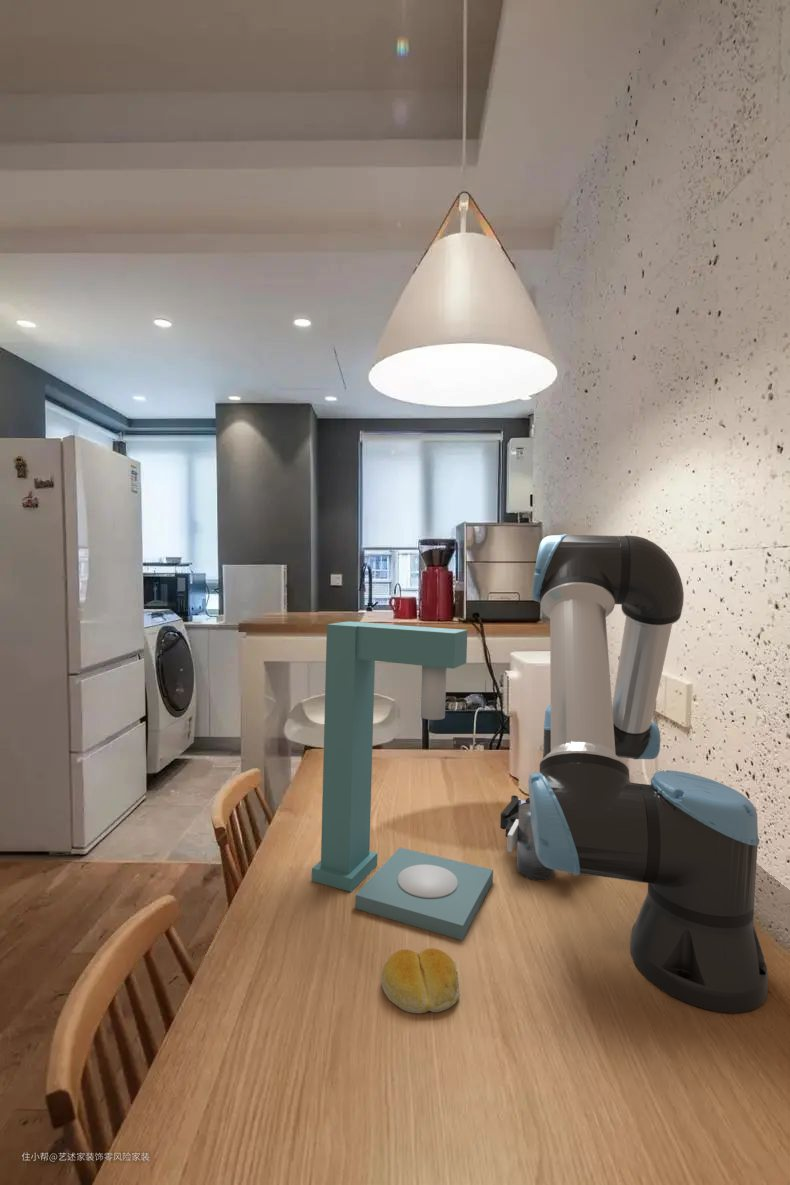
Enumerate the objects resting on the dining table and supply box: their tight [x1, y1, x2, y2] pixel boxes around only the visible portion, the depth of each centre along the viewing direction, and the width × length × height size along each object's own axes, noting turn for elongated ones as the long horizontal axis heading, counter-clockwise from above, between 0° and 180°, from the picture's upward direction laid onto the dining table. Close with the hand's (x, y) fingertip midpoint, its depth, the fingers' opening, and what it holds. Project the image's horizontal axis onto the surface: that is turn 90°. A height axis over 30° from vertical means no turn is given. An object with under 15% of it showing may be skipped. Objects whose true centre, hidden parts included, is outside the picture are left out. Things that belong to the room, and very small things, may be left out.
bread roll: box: [381, 947, 461, 1014], centre depth 66 cm, size 8×9×4 cm
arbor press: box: [311, 621, 494, 941], centre depth 87 cm, size 26×16×40 cm, turn 66°
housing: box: [516, 804, 555, 881], centre depth 94 cm, size 6×6×12 cm
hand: (530, 847), depth 89 cm, fingers closed on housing, 6 cm apart
